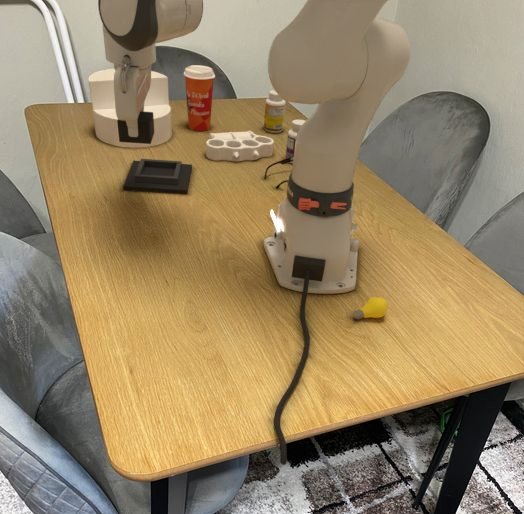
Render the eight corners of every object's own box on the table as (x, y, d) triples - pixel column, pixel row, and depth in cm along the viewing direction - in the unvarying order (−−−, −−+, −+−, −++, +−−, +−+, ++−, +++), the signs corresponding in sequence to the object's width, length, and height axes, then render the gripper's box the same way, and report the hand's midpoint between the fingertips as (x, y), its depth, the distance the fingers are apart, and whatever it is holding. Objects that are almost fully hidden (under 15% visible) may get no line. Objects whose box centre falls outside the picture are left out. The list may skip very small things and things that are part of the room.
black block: (150, 144, 101) (149, 123, 98) (119, 142, 100) (117, 120, 98) (154, 132, 105) (153, 112, 102) (124, 130, 105) (122, 109, 102)
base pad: (187, 194, 116) (186, 183, 114) (123, 190, 115) (122, 179, 113) (191, 168, 126) (191, 158, 125) (133, 164, 125) (132, 154, 124)
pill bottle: (306, 157, 137) (311, 119, 130) (305, 166, 133) (310, 127, 126) (285, 155, 137) (290, 117, 130) (284, 163, 133) (288, 124, 126)
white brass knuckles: (259, 139, 144) (280, 160, 134) (196, 143, 138) (213, 166, 128) (260, 127, 141) (281, 147, 132) (196, 130, 136) (213, 152, 126)
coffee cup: (180, 129, 145) (178, 70, 135) (191, 120, 151) (190, 62, 141) (208, 134, 143) (208, 75, 133) (218, 125, 149) (219, 67, 139)
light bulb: (389, 316, 88) (392, 306, 85) (357, 329, 88) (359, 319, 84) (379, 301, 90) (382, 290, 87) (348, 314, 89) (350, 303, 86)
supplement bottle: (267, 125, 152) (270, 87, 146) (285, 129, 151) (289, 91, 144) (260, 131, 148) (263, 93, 142) (279, 135, 147) (282, 96, 140)
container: (106, 151, 130) (99, 94, 121) (87, 123, 142) (80, 69, 133) (182, 143, 137) (181, 89, 128) (158, 117, 150) (155, 66, 141)
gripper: (140, 66, 85) (146, 150, 94) (154, 37, 100) (158, 112, 109) (101, 63, 84) (110, 148, 94) (121, 34, 100) (128, 110, 109)
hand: (136, 128), depth 102 cm, fingers closed on black block, 6 cm apart
